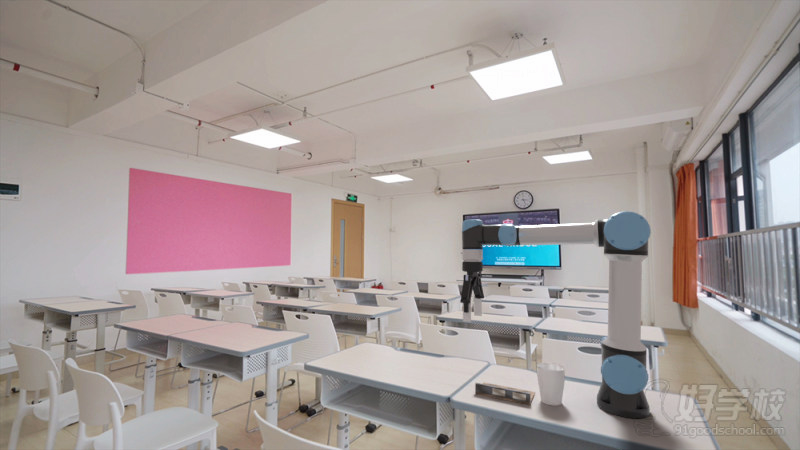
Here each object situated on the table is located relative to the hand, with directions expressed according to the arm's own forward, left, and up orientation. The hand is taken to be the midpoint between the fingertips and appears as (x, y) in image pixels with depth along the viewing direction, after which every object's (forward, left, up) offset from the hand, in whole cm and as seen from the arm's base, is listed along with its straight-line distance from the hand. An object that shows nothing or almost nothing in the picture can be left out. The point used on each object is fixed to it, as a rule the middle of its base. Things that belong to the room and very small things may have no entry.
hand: (472, 318), depth 135 cm
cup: (-26, -7, -27) cm, 38 cm away
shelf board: (-10, -5, -27) cm, 29 cm away
